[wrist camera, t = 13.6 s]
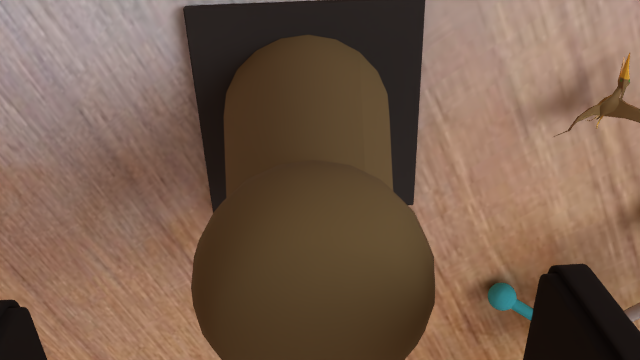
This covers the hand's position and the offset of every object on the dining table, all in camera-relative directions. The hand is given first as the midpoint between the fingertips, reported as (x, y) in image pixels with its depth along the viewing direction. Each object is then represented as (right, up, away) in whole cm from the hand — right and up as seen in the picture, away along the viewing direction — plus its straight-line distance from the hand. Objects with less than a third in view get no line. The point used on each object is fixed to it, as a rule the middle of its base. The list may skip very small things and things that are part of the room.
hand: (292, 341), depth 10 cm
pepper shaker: (0, +5, +10) cm, 11 cm away
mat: (0, +5, +10) cm, 12 cm away
